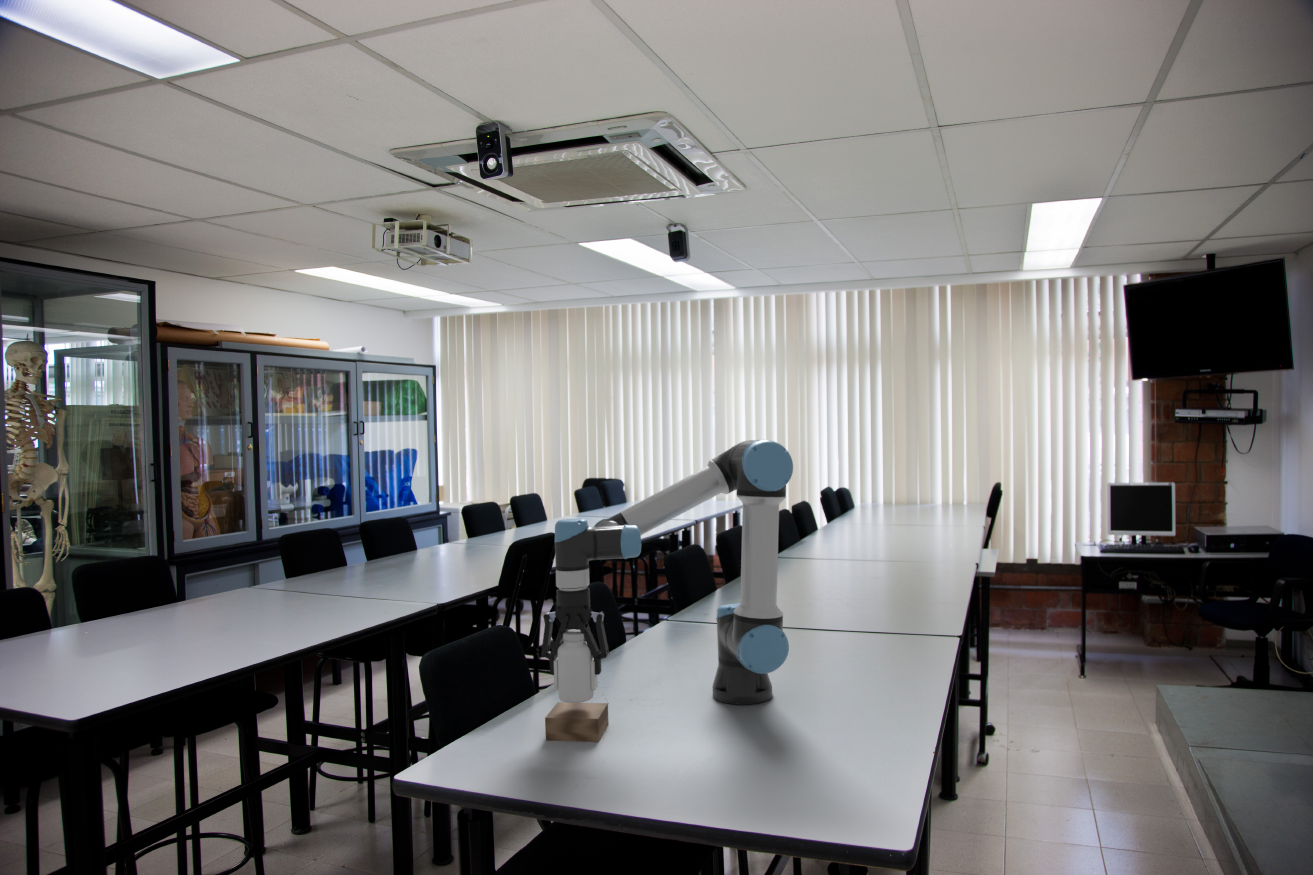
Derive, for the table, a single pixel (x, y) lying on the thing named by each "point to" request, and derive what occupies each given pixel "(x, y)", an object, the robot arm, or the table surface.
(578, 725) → the walnut stand
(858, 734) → the table surface
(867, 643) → the table surface
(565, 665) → the pill bottle
